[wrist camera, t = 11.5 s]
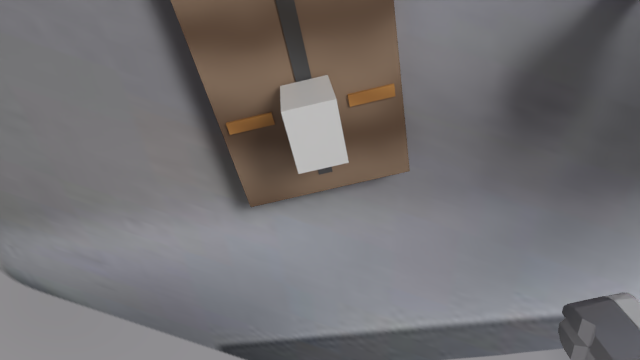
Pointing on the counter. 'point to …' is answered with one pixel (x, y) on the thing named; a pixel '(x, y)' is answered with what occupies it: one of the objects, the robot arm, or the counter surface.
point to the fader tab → (313, 124)
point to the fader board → (293, 66)
